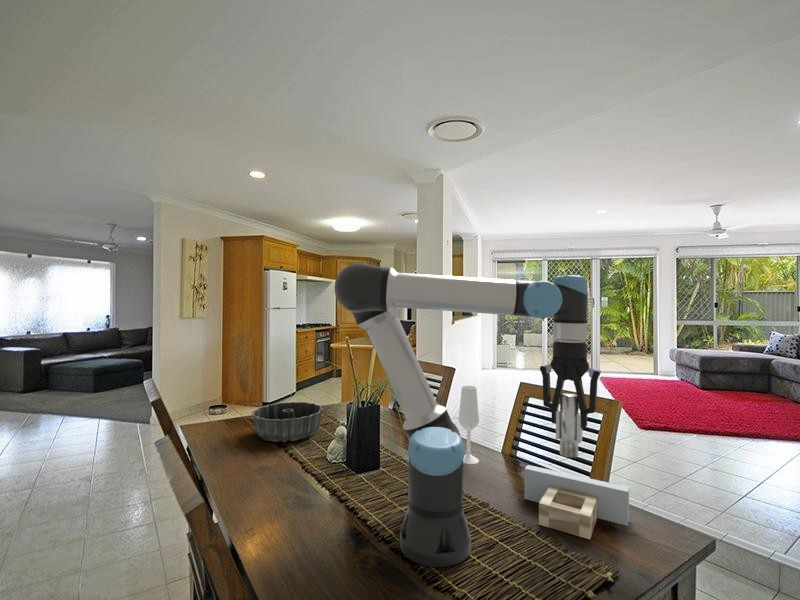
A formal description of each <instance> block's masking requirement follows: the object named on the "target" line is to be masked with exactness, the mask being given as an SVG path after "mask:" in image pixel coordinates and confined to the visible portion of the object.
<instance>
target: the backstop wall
mask: <svg viewBox="0 0 800 600" xmlns="http://www.w3.org/2000/svg"><path fill="white" fill-rule="evenodd" d="M549 486H554V487H558V488H562V489H567V490H571V491H575V492H579V493H583V494H587V495H592V496H596V497H597V519H600V520H602V519H603V521H606V520H607V521H606V522H610V521H611V523H614V522H615V523H614V524H617V523H618V525H621V524H623V525H622V526H625V525H626V526H625V527H628V526H629V521H630V486H626V485H621V484H618V483H617V484H616V483H612V482H608V481H605V480H604V481H603V480H599V479H594V478H589V477H586V476H585V477H584V476H580V475H577V474H572V473H567V472H562V471H559V470H558V471H557V470H553V469H549V468H543V467H539V466H535V465H530V464H527V465H526V466H525V468H524V500H529V501H532V502H536V503H538V504H539V502H540V501H541V499H542V497H543V496H544V494H545V493H546V491H547V489H548V488H549Z"/></svg>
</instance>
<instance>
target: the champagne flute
mask: <svg viewBox="0 0 800 600" xmlns="http://www.w3.org/2000/svg"><path fill="white" fill-rule="evenodd" d="M459 401H460V402H459V411H458V412H459V413H458V422H459V424H460V426H461V427H462V428H463V429H464V430H466V454H464V459H463V464H465V463H466V464H465V465H473V464H474V465H475V464H478V463H479V462H480V460H479V458H477V457H476V456H474V455H472V454H471V436H472V435H471V432H472V431H473V430H474V429H475V428H476V427H477V426H478V425H479V424H480V416H479V415H480V413H479V402H478V401H479V400H478V391H477V386H476V385H475V386H474V385H462V386H461V393H460V400H459Z"/></svg>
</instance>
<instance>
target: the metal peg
mask: <svg viewBox="0 0 800 600" xmlns="http://www.w3.org/2000/svg"><path fill="white" fill-rule="evenodd" d="M559 409H560V439H559V455H561V456H562V457H567V458H571V459H572V458H575V459H576V458H577V457H579V443H577V414H578V413H579V403H578V398H577V394H575V393H562V394H560V403H559Z"/></svg>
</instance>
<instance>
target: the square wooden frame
mask: <svg viewBox="0 0 800 600" xmlns="http://www.w3.org/2000/svg"><path fill="white" fill-rule="evenodd" d="M597 519H598V518H597V497H596V496H592V495H587V494H583V493H579V492H575V491H571V490H567V489H562V488H558V487H554V486H549V488H548V489H547V491H546V493H545V494H544V496H543V497H542V499H541V501H540V502H539V503H538V525H539V526H542V527H546V528H549V529H552V530H556V531H559V532H563V533H565V534H566V533H567V534H571V535H574V536H576V537H577V536H578V537H580V538H584V539H587V540H591V538H592V535H593V531H594V528H595V526H596V522H597Z"/></svg>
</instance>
